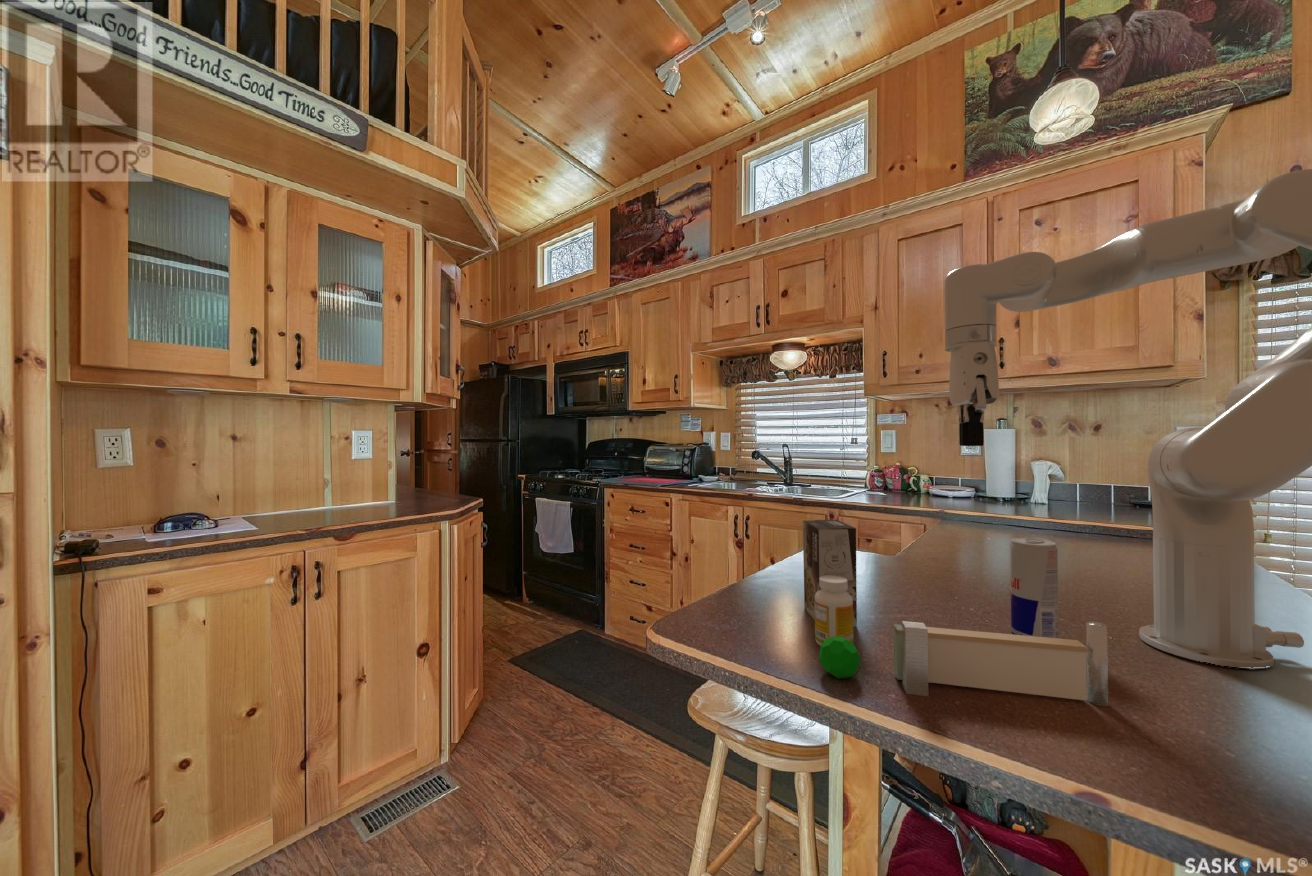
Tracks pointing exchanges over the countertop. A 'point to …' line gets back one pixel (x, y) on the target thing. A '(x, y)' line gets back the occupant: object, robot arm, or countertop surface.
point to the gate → (1003, 662)
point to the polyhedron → (839, 657)
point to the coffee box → (828, 558)
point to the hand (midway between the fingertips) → (971, 445)
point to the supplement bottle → (833, 609)
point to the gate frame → (918, 660)
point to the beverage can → (1034, 587)
